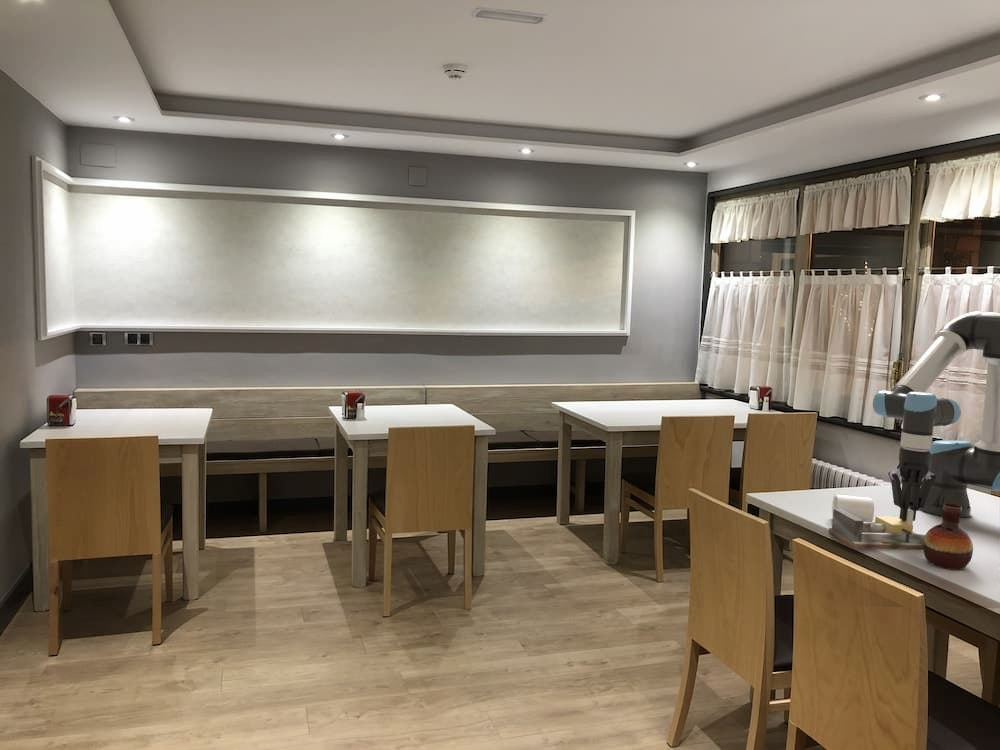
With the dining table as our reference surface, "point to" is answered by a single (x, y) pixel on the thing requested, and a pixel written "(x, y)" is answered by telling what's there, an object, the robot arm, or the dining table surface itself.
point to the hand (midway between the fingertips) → (905, 531)
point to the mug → (855, 506)
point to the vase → (948, 541)
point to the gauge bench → (870, 534)
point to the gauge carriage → (891, 526)
